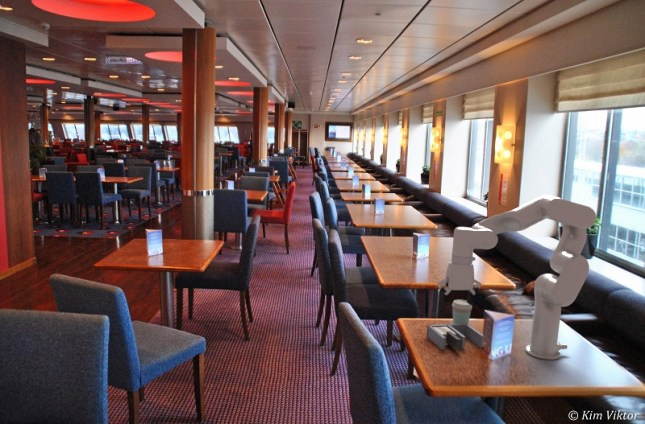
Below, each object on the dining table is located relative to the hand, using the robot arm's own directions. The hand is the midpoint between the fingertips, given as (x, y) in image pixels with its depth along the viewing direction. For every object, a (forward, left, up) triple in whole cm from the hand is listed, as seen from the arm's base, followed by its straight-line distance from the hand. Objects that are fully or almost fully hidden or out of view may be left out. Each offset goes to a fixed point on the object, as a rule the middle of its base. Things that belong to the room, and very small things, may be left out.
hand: (457, 304), depth 201 cm
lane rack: (-6, -10, -19) cm, 23 cm away
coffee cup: (-16, -24, -20) cm, 35 cm away
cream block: (-2, -7, -19) cm, 21 cm away
